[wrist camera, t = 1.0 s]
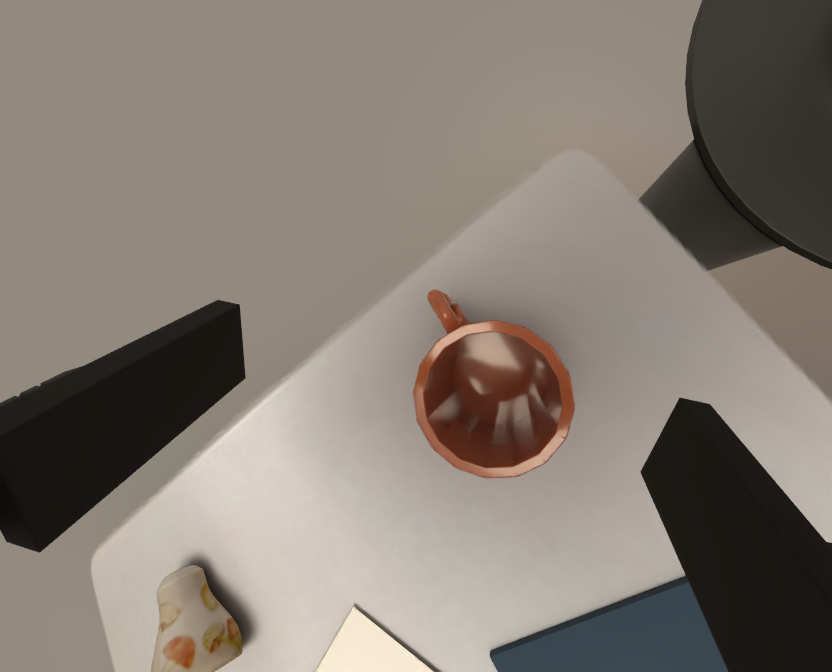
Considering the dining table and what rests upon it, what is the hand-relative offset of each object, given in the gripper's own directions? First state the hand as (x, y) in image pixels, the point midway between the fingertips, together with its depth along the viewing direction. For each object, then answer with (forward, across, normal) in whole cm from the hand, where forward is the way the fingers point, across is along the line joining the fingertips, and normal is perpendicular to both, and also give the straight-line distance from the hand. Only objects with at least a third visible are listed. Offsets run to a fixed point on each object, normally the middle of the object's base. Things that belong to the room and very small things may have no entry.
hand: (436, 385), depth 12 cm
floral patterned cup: (+9, -18, -37) cm, 42 cm away
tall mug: (+18, +3, -9) cm, 20 cm away
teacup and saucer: (+4, +2, -42) cm, 42 cm away
